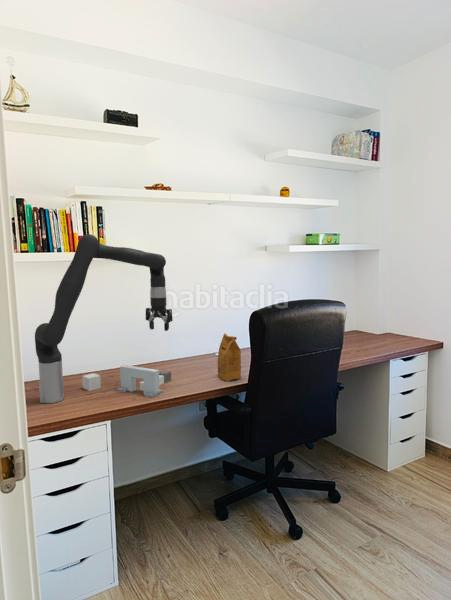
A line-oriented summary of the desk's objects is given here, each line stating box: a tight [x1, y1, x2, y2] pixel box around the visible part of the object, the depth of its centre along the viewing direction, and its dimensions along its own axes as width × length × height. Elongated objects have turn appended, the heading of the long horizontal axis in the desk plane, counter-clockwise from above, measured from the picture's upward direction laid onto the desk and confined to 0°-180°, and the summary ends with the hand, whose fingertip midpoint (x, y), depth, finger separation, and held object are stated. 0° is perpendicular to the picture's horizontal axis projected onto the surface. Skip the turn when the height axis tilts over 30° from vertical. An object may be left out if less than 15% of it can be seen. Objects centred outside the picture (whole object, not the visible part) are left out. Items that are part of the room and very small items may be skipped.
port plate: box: [116, 364, 164, 399], centre depth 190 cm, size 8×20×11 cm, turn 62°
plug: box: [139, 370, 172, 392], centre depth 201 cm, size 19×4×4 cm, turn 152°
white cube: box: [81, 373, 102, 392], centre depth 197 cm, size 6×6×6 cm
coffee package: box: [217, 333, 242, 382], centre depth 210 cm, size 10×12×22 cm
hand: (159, 329), depth 201 cm, fingers open, 8 cm apart
